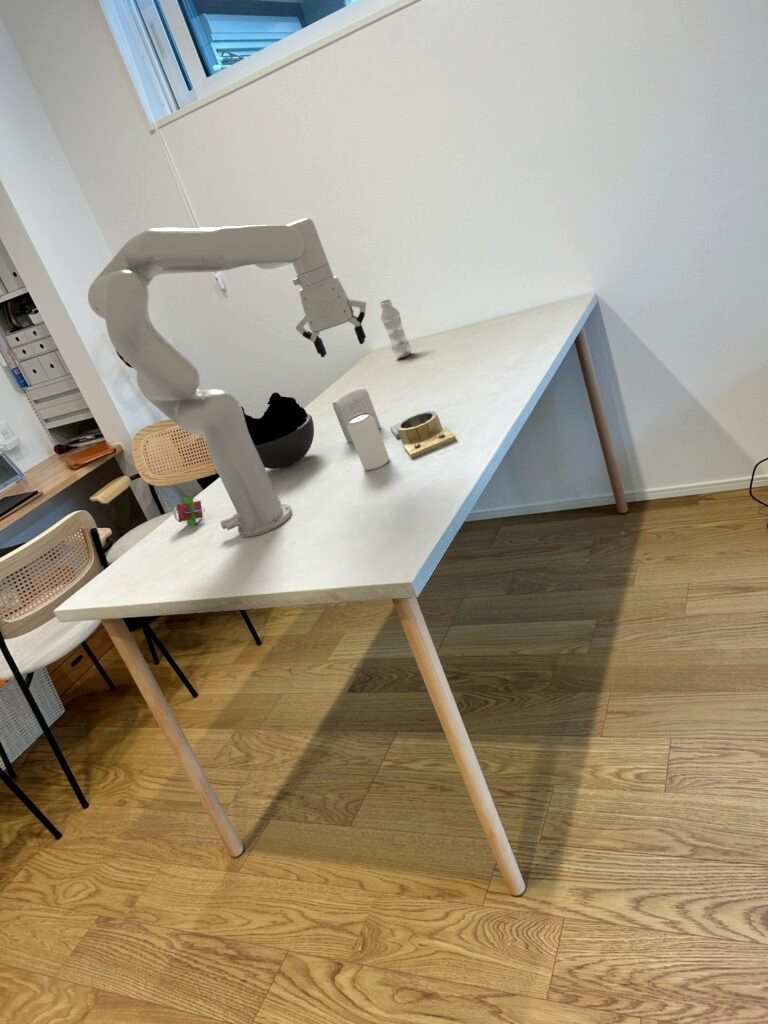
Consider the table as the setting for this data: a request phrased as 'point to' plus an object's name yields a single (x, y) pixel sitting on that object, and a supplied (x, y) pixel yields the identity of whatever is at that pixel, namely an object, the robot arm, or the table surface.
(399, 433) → the brass ring mounting bracket
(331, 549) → the table surface
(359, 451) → the can
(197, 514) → the geometric puzzle
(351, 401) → the white engraved tombstone
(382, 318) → the plastic bottle
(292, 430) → the coal bowl
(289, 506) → the robot arm
